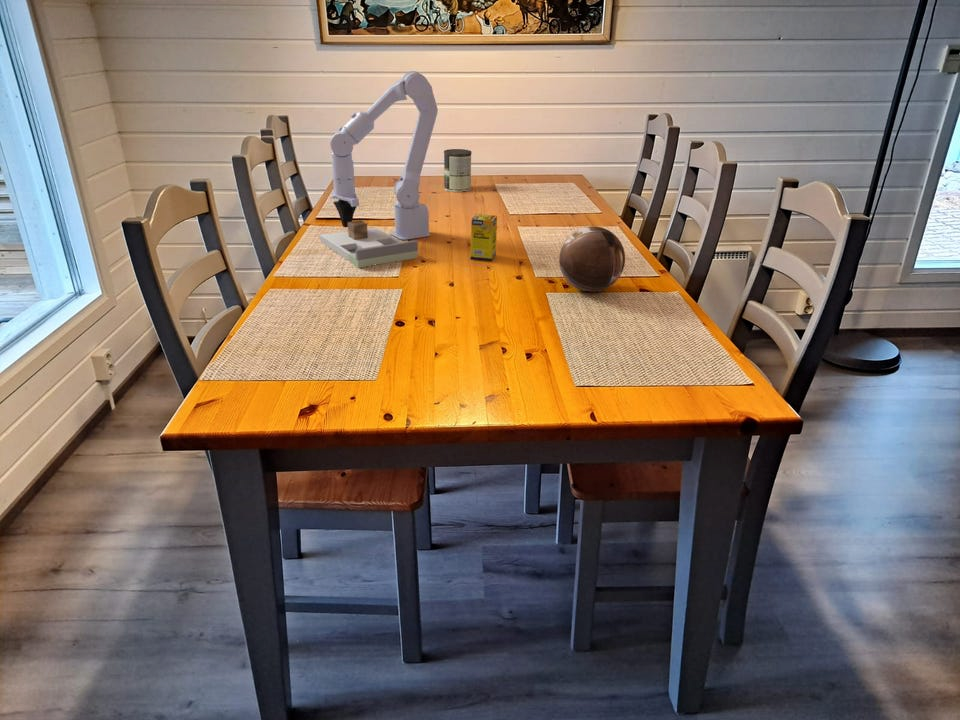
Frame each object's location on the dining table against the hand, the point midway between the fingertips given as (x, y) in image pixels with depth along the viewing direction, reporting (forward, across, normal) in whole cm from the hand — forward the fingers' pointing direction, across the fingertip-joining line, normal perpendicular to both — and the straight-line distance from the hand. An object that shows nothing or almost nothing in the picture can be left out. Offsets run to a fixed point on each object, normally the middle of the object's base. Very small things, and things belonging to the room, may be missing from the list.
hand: (347, 226), depth 187 cm
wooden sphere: (+3, +68, +32) cm, 75 cm away
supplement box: (+3, +34, +24) cm, 42 cm away
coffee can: (+3, -40, +62) cm, 74 cm away
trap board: (+3, +14, 0) cm, 14 cm away
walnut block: (+1, +8, 0) cm, 8 cm away
